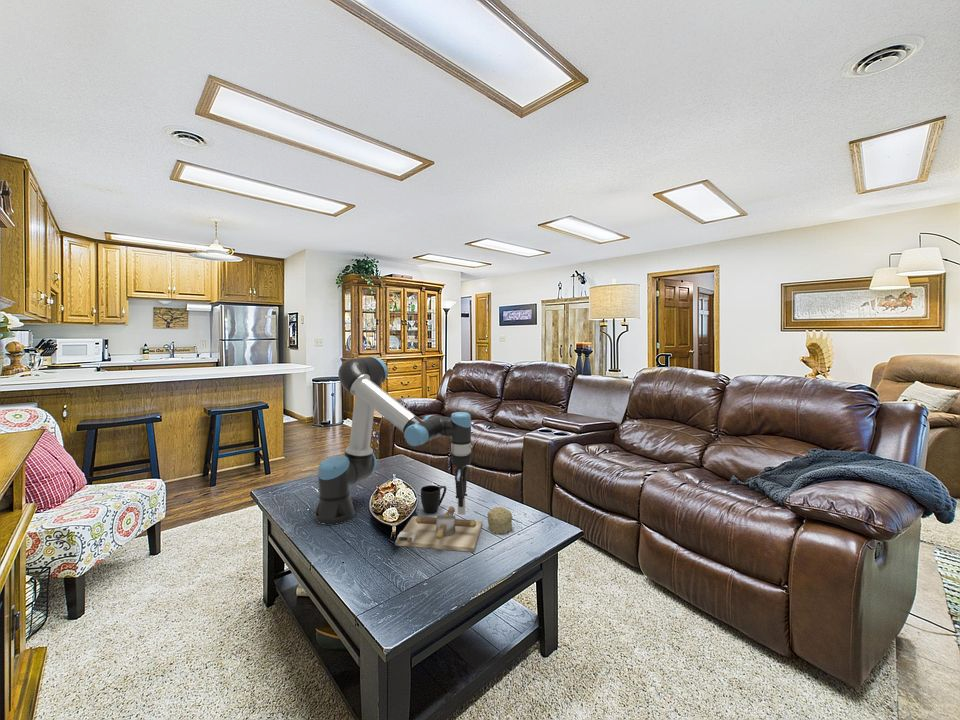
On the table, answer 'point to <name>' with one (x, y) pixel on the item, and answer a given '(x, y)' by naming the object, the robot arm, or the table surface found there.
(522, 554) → the table surface
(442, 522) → the capstan
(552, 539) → the table surface
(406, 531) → the stand
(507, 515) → the decorative object
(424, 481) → the table surface
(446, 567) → the table surface
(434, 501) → the mug
